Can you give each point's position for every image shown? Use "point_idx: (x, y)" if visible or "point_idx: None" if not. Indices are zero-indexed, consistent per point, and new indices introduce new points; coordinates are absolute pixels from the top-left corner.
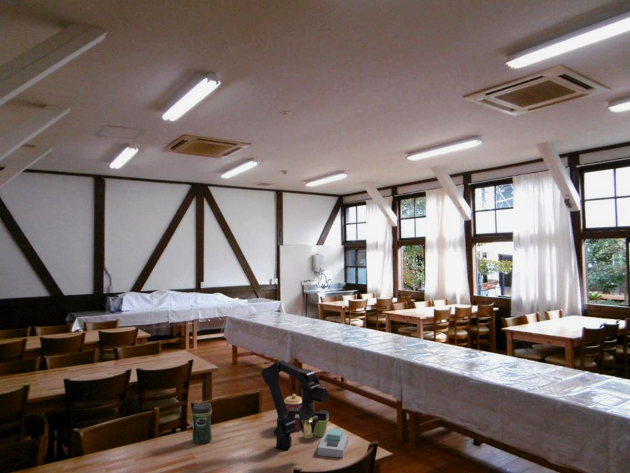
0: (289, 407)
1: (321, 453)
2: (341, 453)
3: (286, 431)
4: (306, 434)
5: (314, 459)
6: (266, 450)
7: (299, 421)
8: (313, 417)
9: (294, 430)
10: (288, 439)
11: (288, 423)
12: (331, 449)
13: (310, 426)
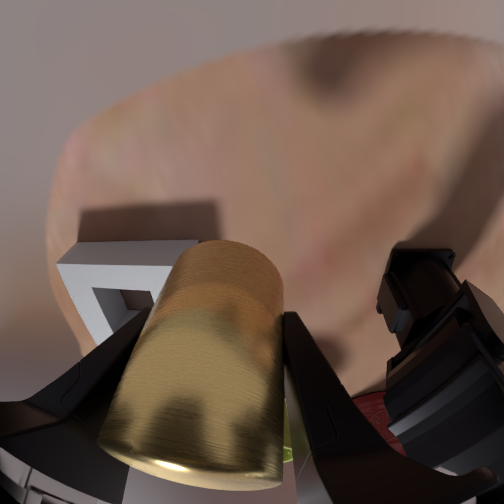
0: None
1: (171, 245)
2: (70, 252)
3: (455, 322)
4: (215, 266)
5: (195, 179)
6: (486, 228)
7: (366, 459)
8: (289, 454)
9: (366, 396)
10: (408, 303)
11: (458, 391)
12: (105, 262)
13: (125, 372)
